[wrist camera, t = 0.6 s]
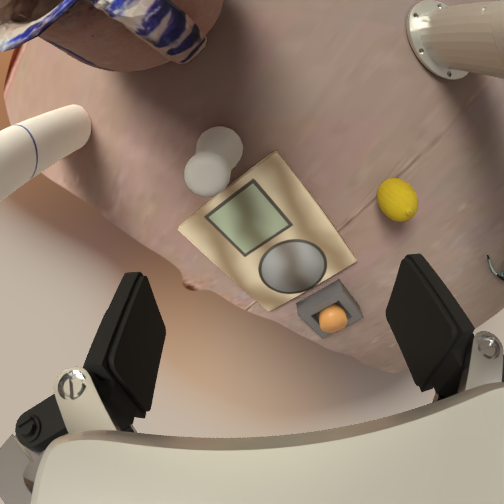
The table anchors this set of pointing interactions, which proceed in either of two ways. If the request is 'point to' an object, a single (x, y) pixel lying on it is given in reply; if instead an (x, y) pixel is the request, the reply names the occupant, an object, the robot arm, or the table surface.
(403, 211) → the lemon
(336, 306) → the button
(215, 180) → the salt shaker
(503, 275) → the sunglasses
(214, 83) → the table surface
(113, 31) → the ceramic pitcher
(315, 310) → the button housing
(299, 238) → the picture board
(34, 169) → the cylindrical container
